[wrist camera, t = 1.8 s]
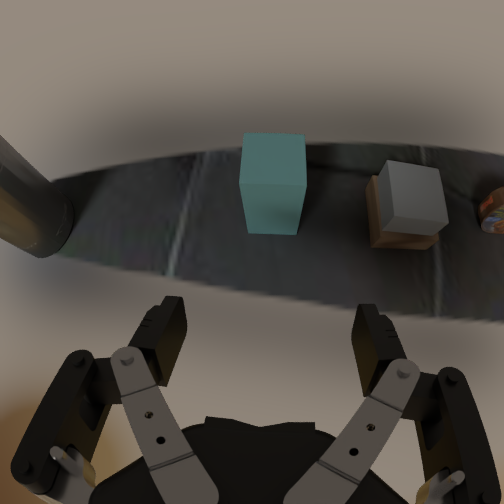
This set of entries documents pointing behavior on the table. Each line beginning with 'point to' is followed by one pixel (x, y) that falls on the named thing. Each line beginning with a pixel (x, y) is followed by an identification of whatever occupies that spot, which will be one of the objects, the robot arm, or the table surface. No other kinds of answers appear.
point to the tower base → (386, 237)
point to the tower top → (411, 199)
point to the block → (273, 182)
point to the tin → (492, 212)
